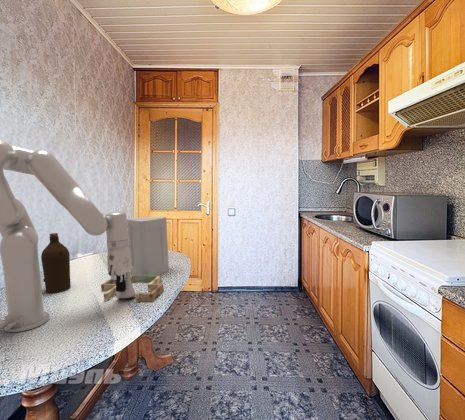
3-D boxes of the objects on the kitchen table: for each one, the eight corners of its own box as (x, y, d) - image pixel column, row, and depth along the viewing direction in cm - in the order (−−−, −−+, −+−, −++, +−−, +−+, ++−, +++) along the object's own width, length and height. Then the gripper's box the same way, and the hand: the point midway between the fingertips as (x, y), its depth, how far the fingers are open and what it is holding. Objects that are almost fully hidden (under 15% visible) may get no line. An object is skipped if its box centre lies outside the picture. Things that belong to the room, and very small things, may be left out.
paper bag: (125, 280, 137) (121, 222, 135) (132, 271, 152) (128, 218, 150) (166, 277, 140) (163, 220, 137) (169, 268, 154) (166, 216, 152)
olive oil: (77, 285, 132) (73, 231, 130) (61, 294, 122) (56, 235, 120) (55, 285, 133) (50, 231, 131) (38, 293, 123) (32, 235, 121)
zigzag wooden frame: (151, 302, 110) (151, 294, 110) (87, 300, 114) (86, 293, 113) (172, 281, 133) (172, 275, 133) (117, 280, 137) (117, 274, 136)
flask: (127, 299, 110) (128, 272, 111) (112, 298, 112) (112, 272, 113) (139, 295, 117) (139, 270, 118) (124, 295, 119) (124, 270, 120)
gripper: (116, 248, 102) (119, 299, 103) (136, 240, 116) (139, 284, 118) (96, 248, 103) (100, 298, 105) (119, 240, 118) (122, 284, 119)
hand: (121, 290), depth 111 cm, fingers closed
